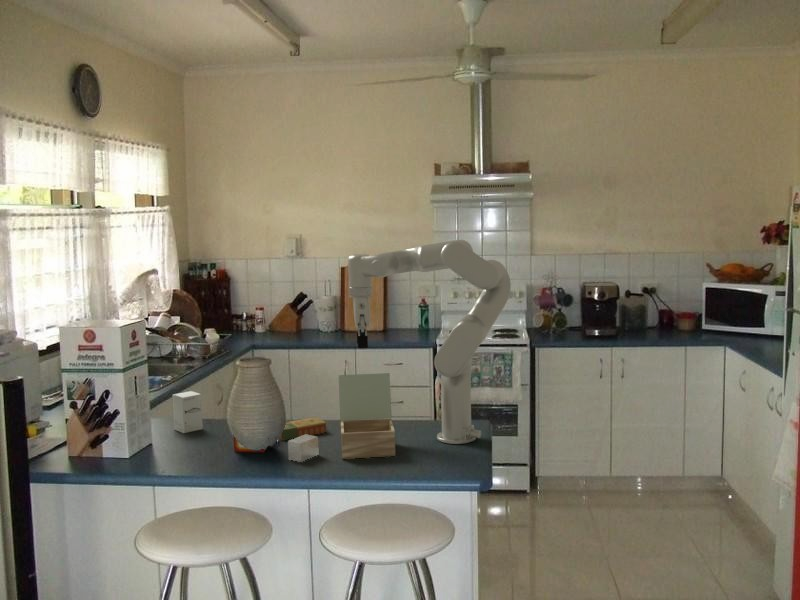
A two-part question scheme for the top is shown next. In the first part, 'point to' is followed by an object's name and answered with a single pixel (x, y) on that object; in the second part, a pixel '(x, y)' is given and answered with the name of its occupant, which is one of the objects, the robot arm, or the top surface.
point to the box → (367, 438)
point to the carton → (303, 428)
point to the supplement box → (187, 411)
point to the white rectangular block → (303, 448)
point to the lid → (365, 396)
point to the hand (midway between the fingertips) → (362, 345)
